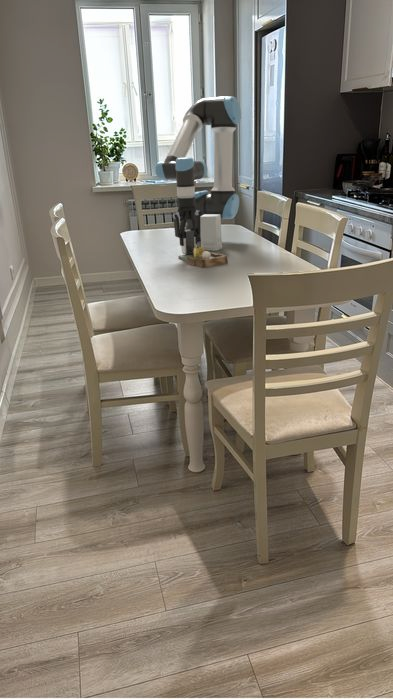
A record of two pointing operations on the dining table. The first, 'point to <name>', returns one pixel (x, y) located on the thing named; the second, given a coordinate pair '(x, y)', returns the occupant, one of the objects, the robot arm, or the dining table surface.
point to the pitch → (205, 260)
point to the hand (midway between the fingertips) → (188, 252)
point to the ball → (206, 255)
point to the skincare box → (211, 232)
